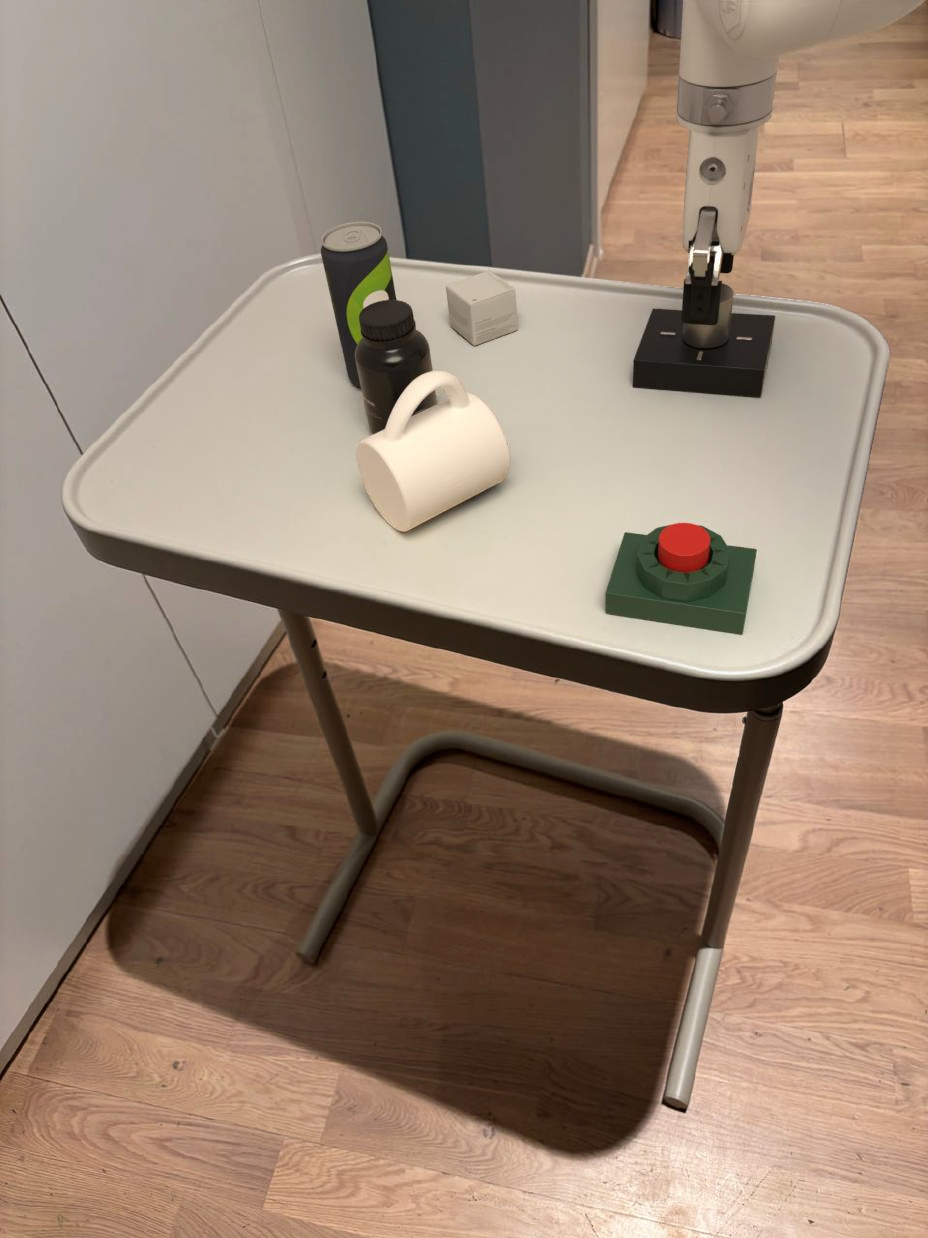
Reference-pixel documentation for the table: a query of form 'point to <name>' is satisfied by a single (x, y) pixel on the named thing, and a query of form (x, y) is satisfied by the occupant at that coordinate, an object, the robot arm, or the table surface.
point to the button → (684, 547)
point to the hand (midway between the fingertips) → (707, 296)
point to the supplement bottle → (390, 359)
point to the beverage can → (355, 280)
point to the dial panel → (704, 356)
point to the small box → (482, 307)
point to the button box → (681, 585)
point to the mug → (432, 453)
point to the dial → (707, 333)
